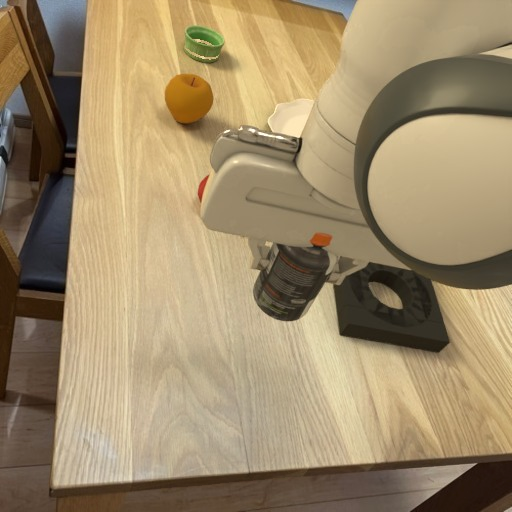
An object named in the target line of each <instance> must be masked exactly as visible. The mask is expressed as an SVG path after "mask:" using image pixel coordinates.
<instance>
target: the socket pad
mask: <svg viewBox="0 0 512 512" xmlns="http://www.w3.org/2000/svg"><path fill="white" fill-rule="evenodd" d="M341 257H342V256H340V258H341ZM372 282H375V283H379V284H382V285H385V286H386V287H389V289H391V290H392V291H393V292H394V293H395V294H396V295H397V296H398V298H399V299H400V300H401V305H402V308H397V307H396V308H395V307H391V306H389V305H387V304H385V303H384V302H382V301H381V300H379V299H378V298H377V297H376V296H375V294H374V293H373V291H372V290H371V288H370V284H369V283H372ZM332 285H333V293H334V301H335V309H336V316H337V323H338V332H339V336H342V337H349V338H353V339H354V338H355V339H358V340H359V339H360V340H365V341H370V342H376V343H382V344H388V345H393V346H400V347H405V348H410V349H411V348H412V349H417V350H421V351H426V352H427V351H428V352H433V353H441V352H442V351H443V350H444V349H445V348H446V347H447V346H448V345H450V343H451V340H450V337H449V333H448V331H447V330H448V329H447V326H446V323H445V320H444V317H443V314H442V311H441V307H440V304H439V301H438V297H437V294H436V291H435V288H434V285H433V281H432V280H430V279H428V278H426V277H424V276H422V275H420V274H418V273H416V272H415V271H413V270H407V269H403V268H398V267H393V266H388V265H383V264H378V263H373V262H369V263H368V264H367V266H366V267H365V268H362V269H360V270H358V271H356V272H354V273H352V274H350V275H346V277H345V278H344V280H343V281H342V283H341V284H340V285H336V284H332Z"/></svg>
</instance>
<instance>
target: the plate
mask: <svg viewBox="0 0 512 512" xmlns="http://www.w3.org/2000/svg"><path fill="white" fill-rule="evenodd" d="M314 102H315V100H314V99H309V98H304V97H303V98H299V97H298V98H297V99H295V100H292V101H288V102H279V103H277V104H276V105H275V109H274V112H273V113H272V114H271V115H270V116H269V117H268V118H267V120H266V121H267V126H268V127H269V129H270V132H275V133H281V134H285V135H289V136H294V137H298V138H300V136H301V133H302V131H303V129H304V126H305V124H306V121H307V119H308V116H309V114H310V112H311V109H312V107H313V104H314Z"/></svg>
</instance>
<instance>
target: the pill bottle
mask: <svg viewBox="0 0 512 512" xmlns="http://www.w3.org/2000/svg"><path fill="white" fill-rule="evenodd" d="M331 239H332V236H331V235H328V234H323V233H315V235H314V236H313V238H312V239H311V240H310V242H311V244H312V245H313V247H293V246H288V245H283V244H278V243H273V242H272V243H271V246H270V253H269V254H270V259H271V261H270V263H269V265H268V266H267V270H266V271H261V270H259V273H258V276H257V277H256V280H255V282H254V284H253V288H252V296H253V299H254V301H255V304H256V305H257V307H258V308H259V309H260V310H261V312H263V313H264V314H265V315H267V316H269V317H270V318H272V319H274V320H276V321H280V322H294V321H298V320H301V319H302V318H303V317H305V316H306V315H307V313H308V312H309V310H310V309H311V307H312V305H313V304H314V302H315V300H316V299H317V297H318V295H319V293H320V292H321V291H322V289H323V287H324V285H325V284H326V281H327V279H328V277H329V276H330V274H331V272H332V271H333V269H334V267H335V265H336V264H337V262H338V260H339V258H340V256H338V255H334V254H331V253H329V252H328V251H326V250H324V249H323V248H322V247H325V246H328V245H330V241H331Z"/></svg>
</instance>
